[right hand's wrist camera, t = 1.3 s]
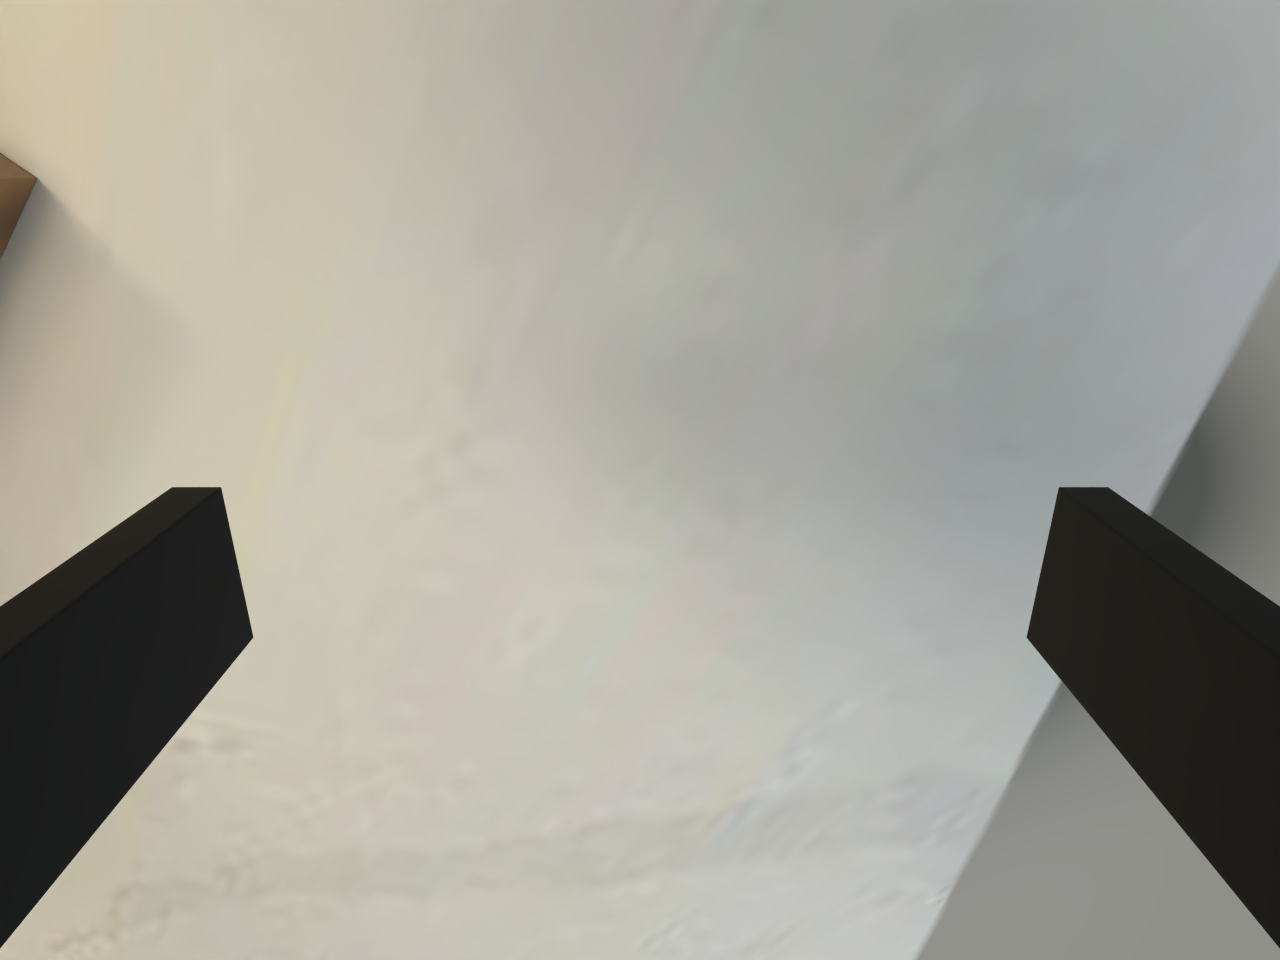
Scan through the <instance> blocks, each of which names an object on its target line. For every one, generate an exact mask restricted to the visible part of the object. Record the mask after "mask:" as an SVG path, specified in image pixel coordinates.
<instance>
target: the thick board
mask: <svg viewBox="0 0 1280 960" xmlns="http://www.w3.org/2000/svg"><path fill="white" fill-rule="evenodd" d="M35 181H36V178H35V177H34V176H32V175H31V174H29V173H28V172H26V171H25V170H23V169H22V168H20V167H19V166H18V165H16V164H15V163H13V162H12V161H10V160H9V159H7V158H6V157H4V156H3V155H1V154H0V258H1V255H2V253H3V251H4V249H5V247H6V245H7V242H8V240H9V238H10V236H11V234H12V231H13V229H14V227H15V225H16V223H17V221H18V218H19V216H20V214H21V212H22V210H23V207H24V205H25V203H26V201H27V199H28V197H29V194H30V192H31V190H32V188H33V186H34V183H35Z"/></svg>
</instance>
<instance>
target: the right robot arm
mask: <svg viewBox="0 0 1280 960" xmlns="http://www.w3.org/2000/svg"><path fill="white" fill-rule="evenodd" d="M252 638H253V634H252V629H251V624H250V620H249V615H248V611H247V606H246V601H245V597H244V592H243V587H242V583H241V578H240V573H239V569H238V564H237V559H236V555H235V550H234V545H233V541H232V536H231V531H230V527H229V522H228V518H227V513H226V508H225V504H224V499H223V494H222V490H221V487H172V488H170V489H169V490H168V491H166V492H165V493H163V494H162V495H160V496H159V497H158V498H156V499H155V500H153V501H152V502H150V503H149V504H147V505H146V506H145V507H143V508H142V509H140V510H139V511H137V512H136V513H134V514H133V515H132V516H130V517H129V518H127V519H126V520H124V521H123V522H121V523H120V524H119V525H117V526H116V527H114V528H113V529H111V530H110V531H109V532H107V533H106V534H104V535H103V536H101V537H100V538H98V539H97V540H96V541H94V542H93V543H91V544H90V545H88V546H87V547H85V548H84V549H83V550H81V551H80V552H78V553H77V554H75V555H74V556H73V557H71V558H70V559H68V560H67V561H65V562H64V563H62V564H61V565H60V566H58V567H57V568H55V569H54V570H52V571H51V572H49V573H48V574H47V575H45V576H44V577H42V578H41V579H39V580H38V581H36V582H35V583H34V584H32V585H31V586H29V587H28V588H26V589H25V590H24V591H22V592H21V593H19V594H18V595H16V596H15V597H13V598H12V599H11V600H9V601H8V602H6V603H5V604H3V605H2V606H0V948H1V947H2V945H3V944H4V943H5V942H6V941H7V939H8V938H9V937H10V936H11V934H12V933H13V932H14V931H15V929H16V928H17V927H18V926H19V925H20V923H21V922H22V921H23V920H24V918H25V917H26V916H27V915H28V914H29V912H30V911H31V910H32V909H33V907H34V906H35V905H36V904H37V902H38V901H39V900H40V899H41V898H42V896H43V895H44V894H45V893H46V891H47V890H48V889H49V888H50V887H51V885H52V884H53V883H54V882H55V880H56V879H57V878H58V877H59V875H60V874H61V873H62V872H63V871H64V869H65V868H66V867H67V866H68V864H69V863H70V862H71V861H72V859H73V858H74V857H75V856H76V855H77V853H78V852H79V851H80V850H81V848H82V847H83V846H84V845H85V844H86V842H87V841H88V840H89V839H90V837H91V836H92V835H93V834H94V832H95V831H96V830H97V829H98V828H99V826H100V825H101V824H102V823H103V821H104V820H105V819H106V818H107V817H108V815H109V814H110V813H111V812H112V810H113V809H114V808H115V807H116V805H117V804H118V803H119V802H120V801H121V799H122V798H123V797H124V796H125V794H126V793H127V792H128V791H129V790H130V788H131V787H132V786H133V785H134V783H135V782H136V781H137V780H138V778H139V777H140V776H141V775H142V774H143V772H144V771H145V770H146V769H147V767H148V766H149V765H150V764H151V762H152V761H153V760H154V759H155V758H156V756H157V755H158V754H159V753H160V751H161V750H162V749H163V748H164V747H165V745H166V744H167V743H168V742H169V740H170V739H171V738H172V737H173V735H174V734H175V733H176V732H177V731H178V729H179V728H180V727H181V726H182V724H183V723H184V722H185V721H186V720H187V718H188V717H189V716H190V715H191V713H192V712H193V711H194V710H195V708H196V707H197V706H198V705H199V704H200V702H201V701H202V700H203V699H204V697H205V696H206V695H207V694H208V693H209V691H210V690H211V689H212V688H213V686H214V685H215V684H216V683H217V681H218V680H219V679H220V678H221V677H222V675H223V674H224V673H225V672H226V670H227V669H228V668H229V667H230V665H231V664H232V663H233V662H234V661H235V659H236V658H237V657H238V656H239V654H240V653H241V652H242V651H243V650H244V648H245V647H246V646H247V645H248V643H249V642H250V641H251V640H252ZM1027 638H1028V640H1029V641H1030V642H1031V643H1032V645H1033V646H1034V647H1035V648H1036V650H1037V651H1038V652H1039V653H1040V654H1041V656H1042V657H1043V658H1044V659H1045V661H1046V662H1047V663H1048V664H1049V665H1050V667H1051V668H1052V669H1053V670H1054V672H1055V673H1056V674H1057V675H1058V677H1059V678H1060V679H1061V680H1062V681H1063V683H1064V684H1065V685H1066V686H1067V688H1068V689H1069V690H1070V691H1071V692H1072V694H1073V695H1074V696H1075V697H1076V699H1077V700H1078V701H1079V702H1080V704H1081V705H1082V706H1083V707H1084V708H1085V710H1086V711H1087V712H1088V713H1089V715H1090V716H1091V717H1092V718H1093V719H1094V721H1095V722H1096V723H1097V724H1098V726H1099V727H1100V728H1101V729H1102V731H1103V732H1104V733H1105V734H1106V735H1107V737H1108V738H1109V739H1110V740H1111V742H1112V743H1113V744H1114V745H1115V746H1116V748H1117V749H1118V750H1119V751H1120V753H1121V754H1122V755H1123V756H1124V758H1125V759H1126V760H1127V761H1128V762H1129V764H1130V765H1131V766H1132V767H1133V769H1134V770H1135V771H1136V772H1137V774H1138V775H1139V776H1140V777H1141V778H1142V780H1143V781H1144V782H1145V783H1146V785H1147V786H1148V787H1149V788H1150V790H1151V791H1152V792H1153V793H1154V794H1155V796H1156V797H1157V798H1158V799H1159V801H1160V802H1161V803H1162V804H1163V805H1164V807H1165V808H1166V809H1167V810H1168V812H1169V813H1170V814H1171V815H1172V817H1173V818H1174V819H1175V820H1176V821H1177V823H1178V824H1179V825H1180V826H1181V828H1182V829H1183V830H1184V831H1185V832H1186V834H1187V835H1188V836H1189V837H1190V839H1191V840H1192V841H1193V842H1194V844H1195V845H1196V846H1197V847H1198V848H1199V850H1200V851H1201V852H1202V853H1203V855H1204V856H1205V857H1206V858H1207V859H1208V861H1209V862H1210V863H1211V864H1212V866H1213V867H1214V868H1215V869H1216V871H1217V872H1218V873H1219V874H1220V875H1221V877H1222V878H1223V879H1224V880H1225V881H1226V883H1227V884H1228V885H1229V886H1230V888H1231V889H1232V890H1233V891H1234V893H1235V894H1236V895H1237V896H1238V898H1239V899H1240V900H1241V901H1242V902H1243V904H1244V905H1245V906H1246V907H1247V909H1248V910H1249V911H1250V912H1251V913H1252V915H1253V916H1254V917H1255V918H1256V920H1257V921H1258V922H1259V923H1260V924H1261V926H1262V927H1263V928H1264V929H1265V931H1266V932H1267V933H1268V934H1269V936H1270V937H1271V938H1272V939H1273V941H1274V942H1275V943H1276V944H1277V945H1278V947H1279V948H1280V607H1279V606H1278V605H1277V604H1275V603H1274V602H1272V601H1271V600H1269V599H1268V598H1267V597H1265V596H1264V595H1262V594H1261V593H1259V592H1258V591H1256V590H1255V589H1254V588H1252V587H1251V586H1249V585H1248V584H1246V583H1245V582H1244V581H1242V580H1241V579H1239V578H1238V577H1236V576H1235V575H1233V574H1232V573H1231V572H1229V571H1228V570H1226V569H1225V568H1223V567H1222V566H1220V565H1219V564H1218V563H1216V562H1215V561H1213V560H1212V559H1210V558H1209V557H1207V556H1206V555H1205V554H1203V553H1202V552H1200V551H1199V550H1197V549H1196V548H1195V547H1193V546H1192V545H1190V544H1189V543H1187V542H1186V541H1184V540H1183V539H1182V538H1180V537H1179V536H1177V535H1176V534H1174V533H1173V532H1171V531H1170V530H1169V529H1167V528H1166V527H1164V526H1163V525H1161V524H1160V523H1158V522H1157V521H1156V520H1154V519H1153V518H1151V517H1150V516H1148V515H1147V514H1146V513H1144V512H1143V511H1141V510H1140V509H1138V508H1137V507H1135V506H1134V505H1133V504H1131V503H1130V502H1128V501H1127V500H1125V499H1124V498H1122V497H1121V496H1120V495H1118V494H1117V493H1115V492H1114V491H1112V490H1111V489H1110V488H1108V487H1059V490H1058V494H1057V499H1056V504H1055V508H1054V513H1053V518H1052V522H1051V527H1050V531H1049V536H1048V541H1047V545H1046V550H1045V555H1044V559H1043V564H1042V569H1041V573H1040V578H1039V583H1038V587H1037V592H1036V597H1035V601H1034V606H1033V611H1032V615H1031V620H1030V624H1029V629H1028V634H1027Z"/></svg>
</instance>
